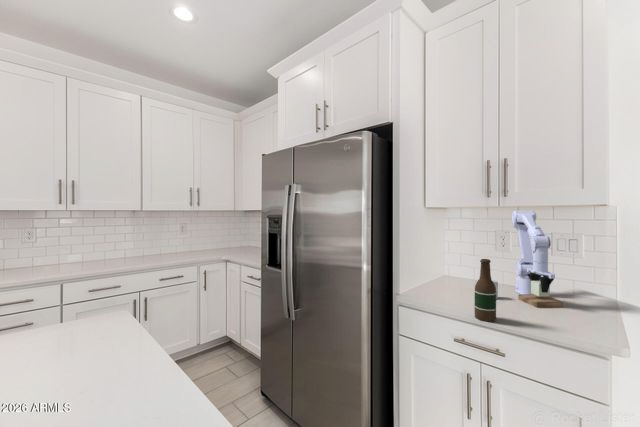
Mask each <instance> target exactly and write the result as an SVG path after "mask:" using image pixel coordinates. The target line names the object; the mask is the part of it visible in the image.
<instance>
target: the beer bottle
mask: <svg viewBox="0 0 640 427" xmlns="http://www.w3.org/2000/svg"><path fill="white" fill-rule="evenodd" d="M479 261H480V272H479V273H480V274H479V278H478V279H479V280H478V279H477V280H476V282H475V286H474V318H475V319H477V320H478V321H480V322H487V323H493V322H495V321H496V319H497V299H496V287H495V284H494V283H493V281H492V280H493V279H492V276H491V260H490V259H488V258H481V259H480V260H479Z"/></svg>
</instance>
